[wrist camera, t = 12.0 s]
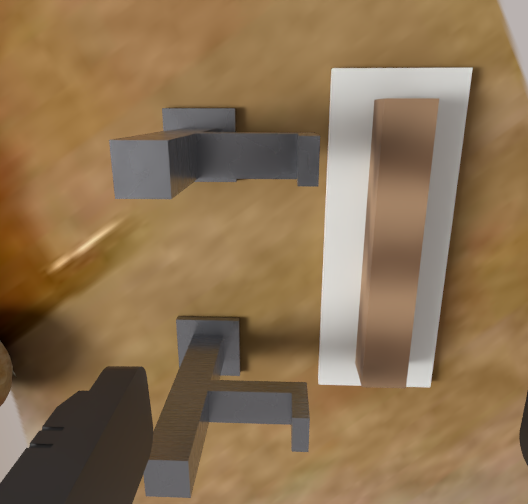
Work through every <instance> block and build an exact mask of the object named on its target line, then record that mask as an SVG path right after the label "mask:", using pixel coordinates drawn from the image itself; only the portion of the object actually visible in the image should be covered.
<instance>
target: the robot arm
mask: <svg viewBox="0 0 528 504" xmlns="http://www.w3.org/2000/svg"><path fill="white" fill-rule="evenodd" d="M152 443H153V422H152V414H151V406H150V399H149V391H148V383H147V376H146V371H145V369H144V368H143V367H113V366H108V367H106V368H105V369H104V370H103V371H102V373H101V374H100V375H99V377H98V378H97V380H96V381H95V383H94V384H93V386H92V387H91V389H90V390H89V391H78V392H77V393H75V394H74V395H73V396H71V397H70V398H69V399H67V400H66V401H65V402H63V403H62V404H60V405H59V406H58V407H57V408H56V409H55V410H54V412H53V413H52V414H51V416H50V417H49V418H48V420H47V421H46V422H45V424H44V425H43V427H42V431H39V432H38V433H37V435H36V436H35V437H34V439H33V440H32V441H31V443H30V447H29V448H26V449H25V451H24V452H23V453H22V455H21V456H20V458H19V459H18V461H17V462H16V463H15V464H14V466H13V467H12V468H11V470H10V471H9V472H8V474H7V475H6V476H5V478H4V479H3V480H2V482H1V483H0V504H132V502H133V500H134V497H135V494H136V492H137V489H138V486H139V484H140V481H141V479H142V476H143V473H144V471H145V468H146V465H147V463H148V460H149V457H150V454H151V449H152ZM520 446H521V451H522V454H523V457H524V459H525V461H526V463H527V465H528V392H527V397H526V402H525V407H524V412H523V418H522V423H521V428H520Z"/></svg>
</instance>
